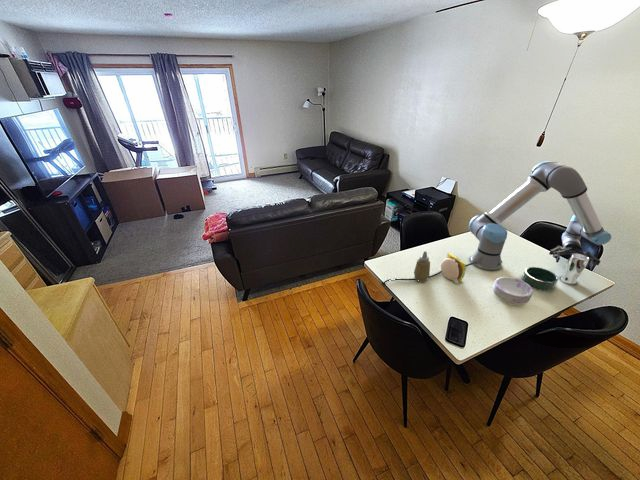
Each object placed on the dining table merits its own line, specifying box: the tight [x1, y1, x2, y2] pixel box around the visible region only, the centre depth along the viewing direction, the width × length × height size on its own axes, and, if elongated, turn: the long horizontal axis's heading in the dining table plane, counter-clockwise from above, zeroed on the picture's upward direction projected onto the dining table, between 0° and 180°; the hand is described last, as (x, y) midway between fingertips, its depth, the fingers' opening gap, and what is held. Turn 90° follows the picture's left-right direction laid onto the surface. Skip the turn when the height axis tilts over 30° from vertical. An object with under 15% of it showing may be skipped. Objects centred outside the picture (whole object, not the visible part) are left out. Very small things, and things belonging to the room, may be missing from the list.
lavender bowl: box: [492, 276, 534, 306], centre depth 127 cm, size 15×15×8 cm
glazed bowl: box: [521, 266, 559, 292], centre depth 136 cm, size 14×14×6 cm
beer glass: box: [560, 253, 589, 285], centre depth 134 cm, size 7×7×15 cm
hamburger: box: [440, 252, 467, 284], centre depth 142 cm, size 12×8×12 cm
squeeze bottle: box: [413, 250, 431, 283], centre depth 141 cm, size 8×8×18 cm
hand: (574, 264), depth 135 cm, fingers open, 13 cm apart
